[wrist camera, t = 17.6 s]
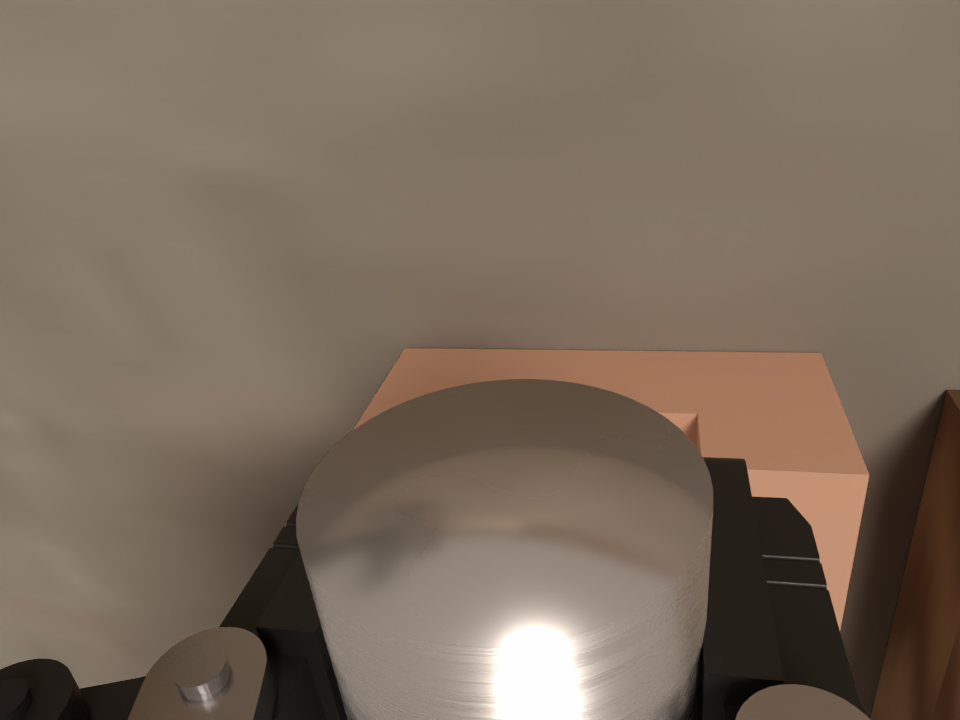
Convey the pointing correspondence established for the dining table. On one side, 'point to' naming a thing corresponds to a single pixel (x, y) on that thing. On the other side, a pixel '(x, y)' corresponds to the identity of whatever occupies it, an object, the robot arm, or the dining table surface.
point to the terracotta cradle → (701, 419)
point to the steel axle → (512, 557)
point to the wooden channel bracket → (929, 595)
